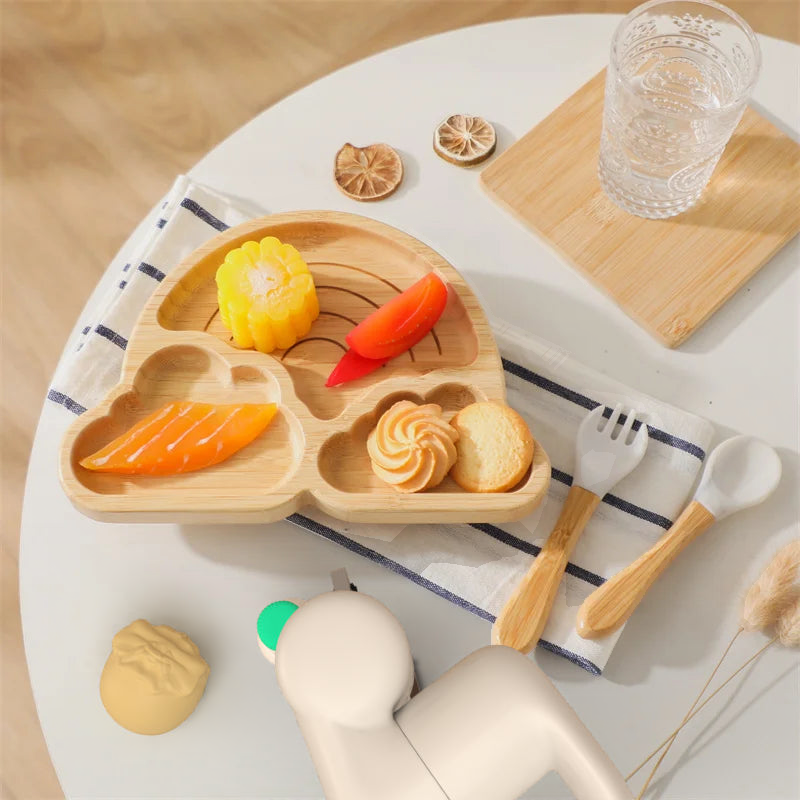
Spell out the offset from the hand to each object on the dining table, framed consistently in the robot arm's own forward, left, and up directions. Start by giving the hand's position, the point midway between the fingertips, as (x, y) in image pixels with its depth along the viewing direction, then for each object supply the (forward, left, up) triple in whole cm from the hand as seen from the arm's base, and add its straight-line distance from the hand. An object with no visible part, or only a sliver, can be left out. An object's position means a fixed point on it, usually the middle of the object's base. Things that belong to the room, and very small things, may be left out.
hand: (373, 685), depth 76 cm
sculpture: (+10, +25, -33) cm, 43 cm away
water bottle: (+8, +7, -33) cm, 35 cm away
